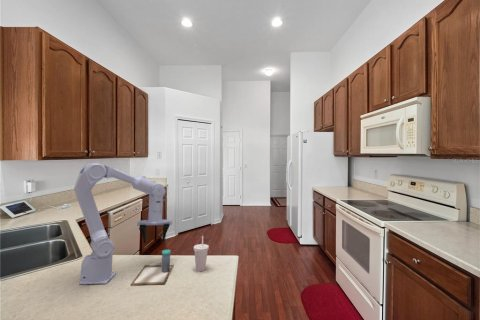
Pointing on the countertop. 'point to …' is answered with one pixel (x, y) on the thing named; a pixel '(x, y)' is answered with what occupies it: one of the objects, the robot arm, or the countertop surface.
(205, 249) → the smoothie
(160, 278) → the picture frame
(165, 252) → the bottle
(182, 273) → the countertop surface
